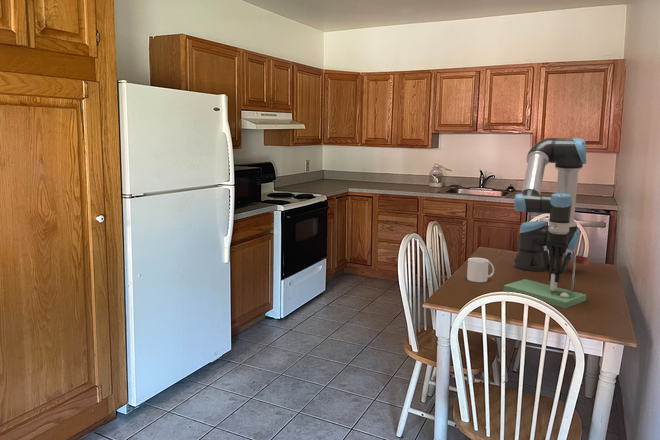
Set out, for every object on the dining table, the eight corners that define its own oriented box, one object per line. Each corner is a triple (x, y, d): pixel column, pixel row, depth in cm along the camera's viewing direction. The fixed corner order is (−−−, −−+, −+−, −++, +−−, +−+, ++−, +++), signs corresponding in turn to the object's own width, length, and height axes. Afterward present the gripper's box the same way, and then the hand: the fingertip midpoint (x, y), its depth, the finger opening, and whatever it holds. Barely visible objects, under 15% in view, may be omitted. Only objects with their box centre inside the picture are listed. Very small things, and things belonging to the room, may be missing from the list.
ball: (565, 289, 198) (570, 296, 196) (565, 292, 200) (571, 299, 198) (557, 294, 198) (563, 301, 196) (557, 297, 201) (563, 304, 199)
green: (503, 290, 211) (503, 285, 210) (524, 284, 220) (524, 279, 220) (565, 308, 190) (566, 302, 189) (585, 300, 199) (586, 294, 199)
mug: (467, 282, 224) (469, 261, 222) (465, 276, 232) (467, 257, 231) (495, 283, 222) (497, 263, 220) (492, 277, 230) (493, 258, 229)
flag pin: (569, 297, 203) (573, 254, 200) (570, 296, 204) (574, 254, 201) (584, 301, 199) (588, 257, 196) (585, 300, 199) (589, 257, 196)
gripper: (537, 230, 200) (533, 287, 204) (569, 236, 190) (564, 295, 194) (547, 228, 205) (543, 283, 209) (579, 233, 195) (573, 291, 199)
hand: (553, 289), depth 201 cm, fingers closed
